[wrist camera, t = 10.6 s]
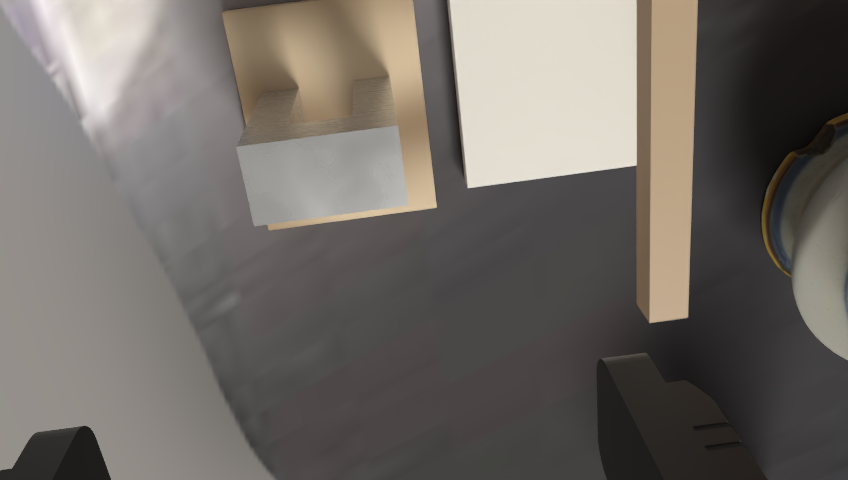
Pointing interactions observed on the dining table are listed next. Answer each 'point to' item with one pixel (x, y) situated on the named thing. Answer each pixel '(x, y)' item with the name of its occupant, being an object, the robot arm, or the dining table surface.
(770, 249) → the apothecary jar
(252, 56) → the cork mat
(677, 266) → the stand
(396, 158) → the c link
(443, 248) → the dining table surface
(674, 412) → the robot arm
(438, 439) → the dining table surface
